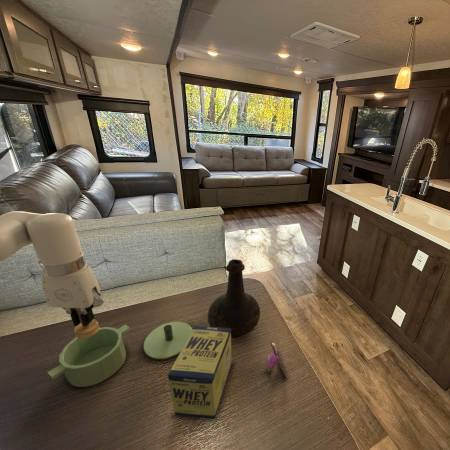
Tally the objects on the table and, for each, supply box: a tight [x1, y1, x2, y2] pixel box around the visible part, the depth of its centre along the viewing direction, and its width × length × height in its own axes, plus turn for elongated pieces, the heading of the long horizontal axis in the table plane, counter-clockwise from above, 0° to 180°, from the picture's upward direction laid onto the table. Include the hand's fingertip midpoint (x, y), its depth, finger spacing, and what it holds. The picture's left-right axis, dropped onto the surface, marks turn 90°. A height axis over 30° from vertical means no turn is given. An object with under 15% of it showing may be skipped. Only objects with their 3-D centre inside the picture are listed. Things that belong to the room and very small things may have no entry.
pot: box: [46, 324, 131, 388], centre depth 71 cm, size 14×19×8 cm
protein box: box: [167, 324, 233, 420], centre depth 66 cm, size 10×16×16 cm
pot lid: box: [143, 321, 193, 360], centre depth 81 cm, size 15×15×6 cm
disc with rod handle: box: [73, 308, 101, 339], centre depth 66 cm, size 5×5×9 cm
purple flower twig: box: [266, 341, 287, 379], centre depth 75 cm, size 7×5×9 cm
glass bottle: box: [207, 258, 261, 340], centre depth 84 cm, size 18×18×28 cm
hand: (84, 321), depth 66 cm, fingers closed on disc with rod handle, 1 cm apart
